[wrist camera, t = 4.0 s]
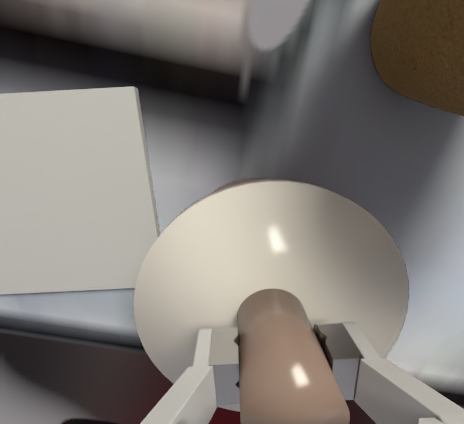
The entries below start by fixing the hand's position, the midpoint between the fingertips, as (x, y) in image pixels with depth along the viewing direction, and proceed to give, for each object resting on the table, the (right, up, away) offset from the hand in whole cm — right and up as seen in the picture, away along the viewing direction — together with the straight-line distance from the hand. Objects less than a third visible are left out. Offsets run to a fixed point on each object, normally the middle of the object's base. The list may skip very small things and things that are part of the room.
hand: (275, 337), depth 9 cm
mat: (-14, +6, +7) cm, 17 cm away
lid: (0, +1, +2) cm, 2 cm away
